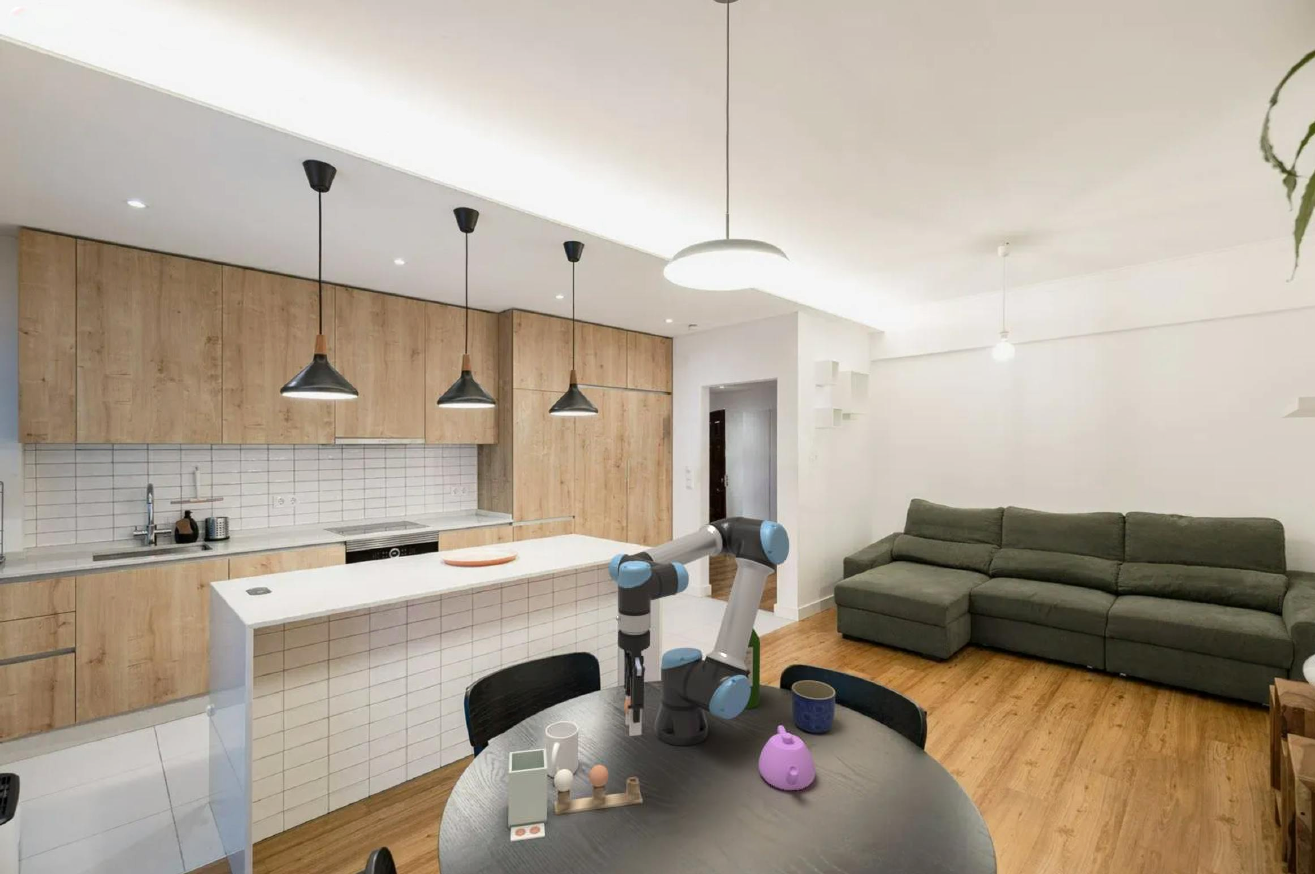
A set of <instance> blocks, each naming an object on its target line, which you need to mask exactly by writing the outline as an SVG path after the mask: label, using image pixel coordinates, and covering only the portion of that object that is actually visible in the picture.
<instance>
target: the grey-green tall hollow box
mask: <svg viewBox="0 0 1315 874" xmlns="http://www.w3.org/2000/svg"><path fill="white" fill-rule="evenodd" d="M508 755H509V757H508V758H509V759H508V796H507V797H508V798H507V799H508V803H507V804H508V806H507V807H508V811H507V812H508V813H507V814H508V815H507V818H508V822H507V824H508V826H507V828H508V829H511V828H512V827H519V826H526V825H533V824H541V823H544V824H546V823H548V822H547V821H548V774H547V757H546V748H536V749H530V750H529V749H528V750H527V749H526V750H519V751H512V752H509V754H508Z"/></svg>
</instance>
